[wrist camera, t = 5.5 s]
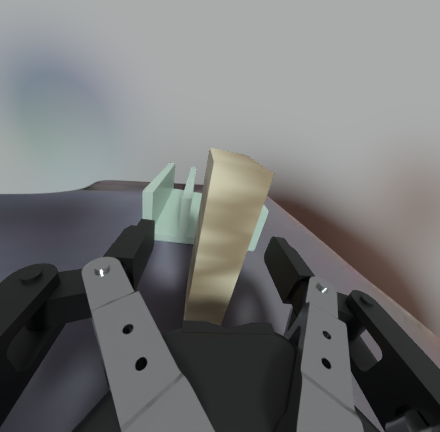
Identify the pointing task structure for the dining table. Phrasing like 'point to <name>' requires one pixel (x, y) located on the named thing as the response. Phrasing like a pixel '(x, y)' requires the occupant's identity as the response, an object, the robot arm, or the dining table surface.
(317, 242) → the dining table surface
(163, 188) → the slotted rack
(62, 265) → the dining table surface
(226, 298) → the tan wooden block
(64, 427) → the dining table surface
